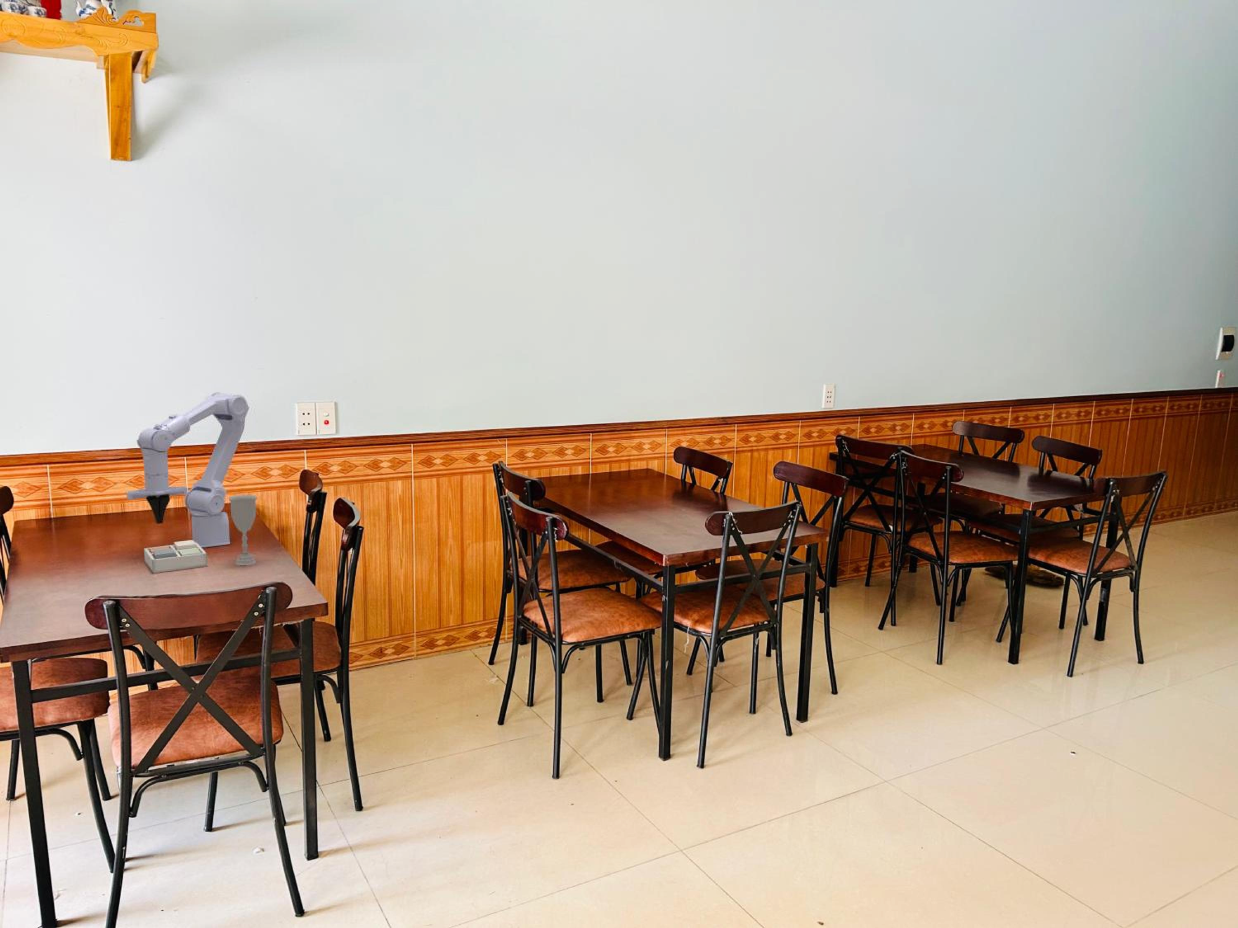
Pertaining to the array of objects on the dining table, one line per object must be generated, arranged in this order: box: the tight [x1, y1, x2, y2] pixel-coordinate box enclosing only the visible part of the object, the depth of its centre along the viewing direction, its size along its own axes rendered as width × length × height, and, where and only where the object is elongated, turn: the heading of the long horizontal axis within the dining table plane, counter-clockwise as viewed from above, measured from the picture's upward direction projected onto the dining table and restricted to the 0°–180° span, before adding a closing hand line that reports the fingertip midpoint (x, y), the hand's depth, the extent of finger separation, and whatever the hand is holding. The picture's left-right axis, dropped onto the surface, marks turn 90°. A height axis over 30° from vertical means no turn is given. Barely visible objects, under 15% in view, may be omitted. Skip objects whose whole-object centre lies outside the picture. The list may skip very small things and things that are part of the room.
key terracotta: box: [148, 545, 170, 553], centre depth 240 cm, size 5×5×2 cm
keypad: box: [143, 542, 208, 574], centre depth 239 cm, size 13×13×4 cm
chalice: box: [228, 494, 258, 566], centre depth 240 cm, size 7×7×18 cm
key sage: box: [179, 549, 201, 556], centre depth 238 cm, size 5×5×2 cm
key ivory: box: [173, 539, 196, 550], centre depth 243 cm, size 5×5×2 cm
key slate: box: [153, 548, 176, 559], centre depth 235 cm, size 5×5×2 cm
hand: (159, 522), depth 244 cm, fingers closed
